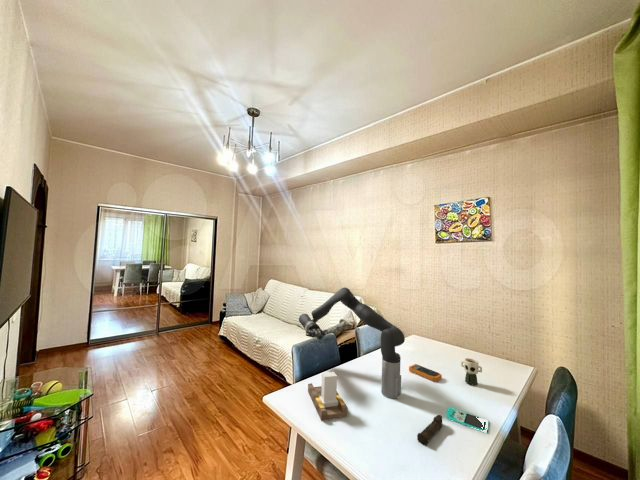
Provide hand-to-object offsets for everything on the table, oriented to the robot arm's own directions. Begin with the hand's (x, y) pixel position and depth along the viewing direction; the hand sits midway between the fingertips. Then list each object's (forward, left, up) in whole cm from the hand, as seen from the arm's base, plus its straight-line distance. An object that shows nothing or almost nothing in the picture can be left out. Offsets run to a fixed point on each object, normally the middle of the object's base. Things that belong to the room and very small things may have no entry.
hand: (320, 337), depth 141 cm
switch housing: (-11, +11, -26) cm, 30 cm away
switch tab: (-14, +13, -24) cm, 31 cm away
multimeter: (-43, -52, -26) cm, 72 cm away
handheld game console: (-68, -17, -27) cm, 75 cm away
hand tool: (-57, +2, -26) cm, 63 cm away
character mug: (-67, -57, -26) cm, 92 cm away
